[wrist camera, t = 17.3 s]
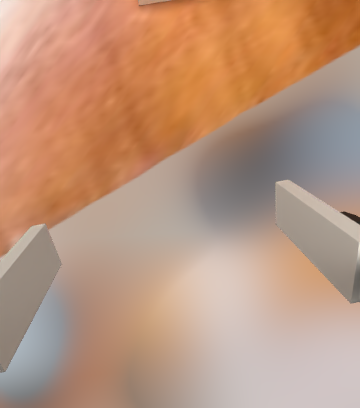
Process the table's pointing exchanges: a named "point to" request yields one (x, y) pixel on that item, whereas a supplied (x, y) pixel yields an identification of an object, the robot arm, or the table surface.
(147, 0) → the rectangular block
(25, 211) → the table surface
